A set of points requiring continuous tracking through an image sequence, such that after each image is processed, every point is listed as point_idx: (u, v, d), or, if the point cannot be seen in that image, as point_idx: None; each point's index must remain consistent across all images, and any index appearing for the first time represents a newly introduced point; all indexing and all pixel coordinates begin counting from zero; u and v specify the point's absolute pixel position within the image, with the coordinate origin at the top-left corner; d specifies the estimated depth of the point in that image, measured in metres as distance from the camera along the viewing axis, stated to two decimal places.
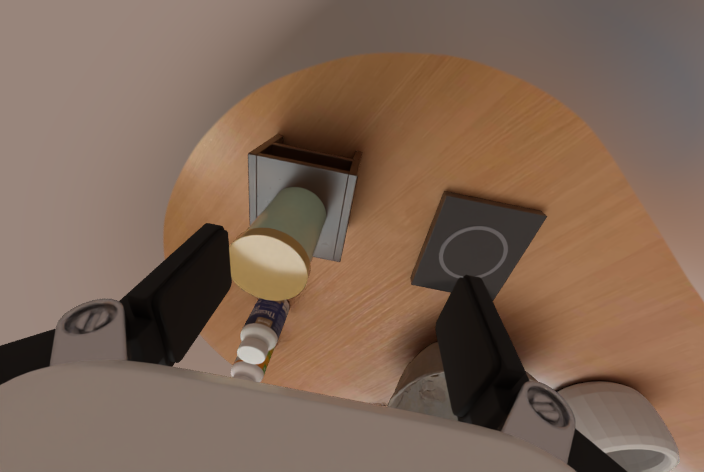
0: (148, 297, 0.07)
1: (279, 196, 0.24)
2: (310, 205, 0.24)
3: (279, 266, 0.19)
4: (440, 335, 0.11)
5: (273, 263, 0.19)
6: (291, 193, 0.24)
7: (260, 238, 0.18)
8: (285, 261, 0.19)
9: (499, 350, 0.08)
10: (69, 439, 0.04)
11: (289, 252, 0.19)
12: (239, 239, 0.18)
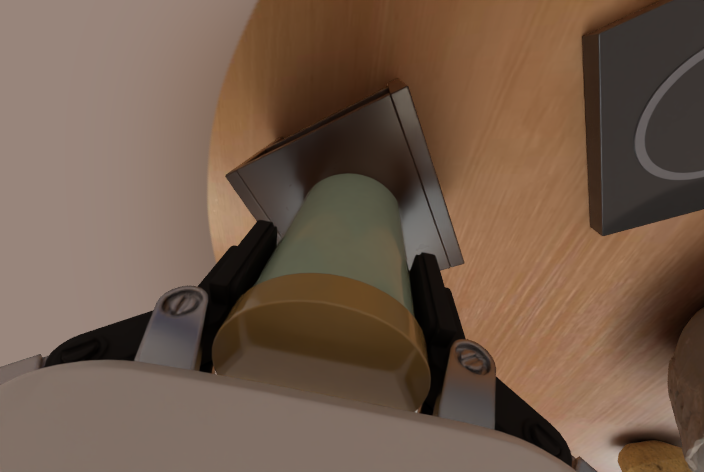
0: (227, 284, 0.08)
1: (297, 210, 0.13)
2: (353, 192, 0.12)
3: (339, 361, 0.07)
4: None
5: (321, 360, 0.07)
6: (312, 193, 0.13)
7: (249, 320, 0.07)
8: (344, 344, 0.07)
9: (437, 313, 0.08)
10: (69, 439, 0.04)
11: (337, 319, 0.06)
12: (215, 343, 0.07)
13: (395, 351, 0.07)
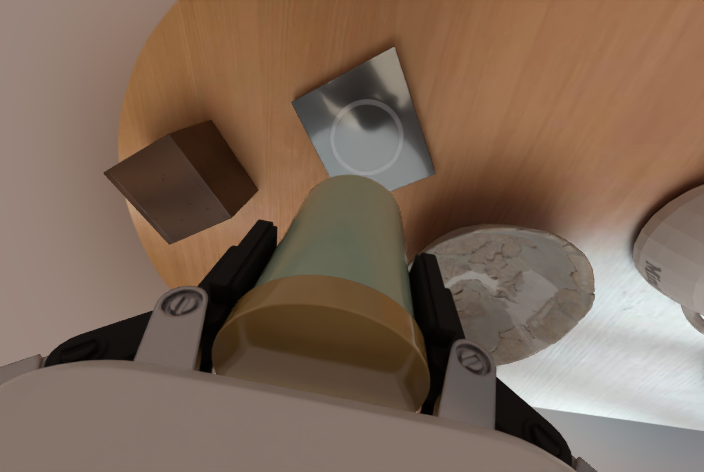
0: (226, 284, 0.08)
1: (297, 211, 0.13)
2: (353, 193, 0.12)
3: (339, 362, 0.07)
4: None
5: (321, 362, 0.07)
6: (313, 194, 0.13)
7: (249, 321, 0.07)
8: (344, 346, 0.07)
9: (437, 313, 0.08)
10: (69, 439, 0.04)
11: (336, 321, 0.06)
12: (215, 344, 0.07)
13: (394, 353, 0.07)
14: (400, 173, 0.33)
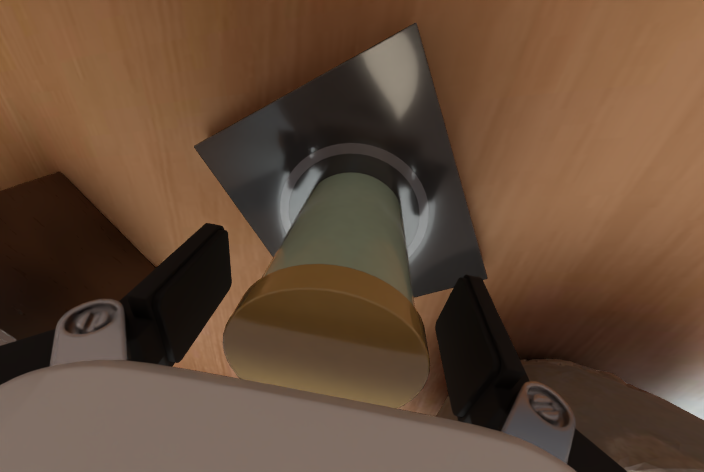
0: (148, 297, 0.07)
1: None
2: (355, 190, 0.12)
3: (343, 347, 0.07)
4: (440, 335, 0.11)
5: (326, 346, 0.08)
6: (316, 191, 0.13)
7: (259, 307, 0.07)
8: (349, 330, 0.07)
9: (499, 350, 0.08)
10: (69, 439, 0.04)
11: (342, 306, 0.07)
12: (226, 330, 0.08)
13: (396, 337, 0.07)
14: (419, 275, 0.17)
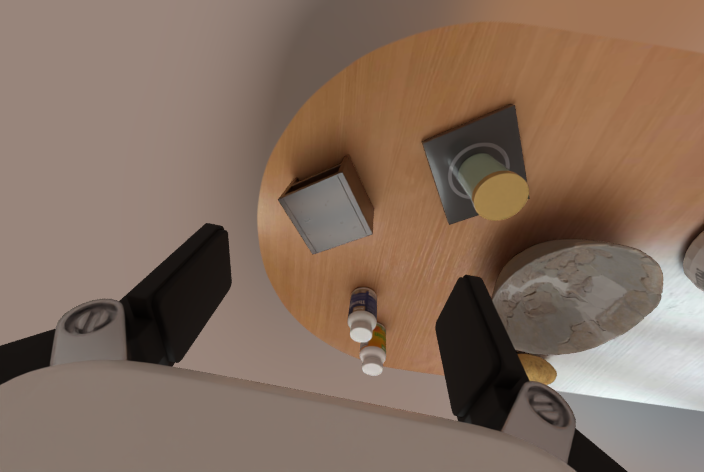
0: (148, 297, 0.07)
1: (468, 165, 0.37)
2: (491, 158, 0.36)
3: (508, 190, 0.32)
4: (440, 335, 0.11)
5: (504, 190, 0.32)
6: (473, 159, 0.37)
7: (492, 179, 0.31)
8: (511, 185, 0.31)
9: (499, 350, 0.08)
10: (69, 439, 0.04)
11: (512, 177, 0.31)
12: (480, 187, 0.32)
13: (522, 186, 0.31)
14: None
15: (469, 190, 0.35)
